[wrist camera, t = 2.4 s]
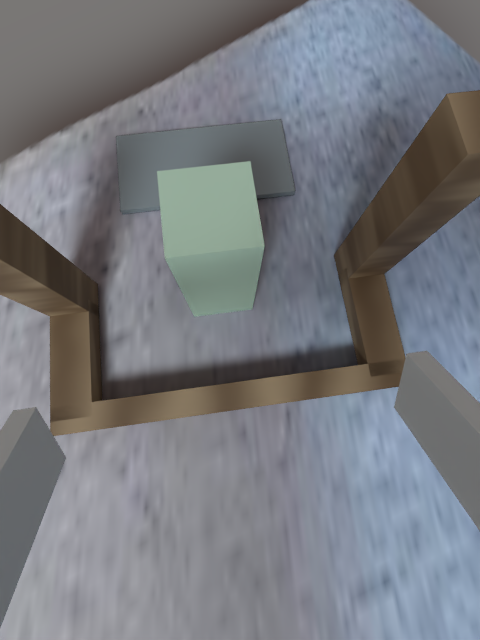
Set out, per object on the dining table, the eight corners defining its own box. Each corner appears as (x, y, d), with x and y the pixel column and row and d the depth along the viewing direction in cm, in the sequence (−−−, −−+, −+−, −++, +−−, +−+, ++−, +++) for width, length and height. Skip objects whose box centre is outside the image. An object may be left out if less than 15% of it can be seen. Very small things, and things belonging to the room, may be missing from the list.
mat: (280, 124, 32) (280, 119, 32) (294, 194, 31) (295, 190, 30) (118, 140, 32) (115, 136, 31) (122, 214, 30) (120, 210, 29)
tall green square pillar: (244, 255, 29) (250, 161, 17) (252, 309, 28) (264, 246, 16) (188, 262, 29) (156, 171, 17) (194, 316, 28) (164, 258, 16)
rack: (366, 251, 29) (514, 86, 14) (399, 385, 27) (630, 369, 11) (62, 288, 28) (-152, 154, 13) (64, 433, 25) (-205, 490, 10)
